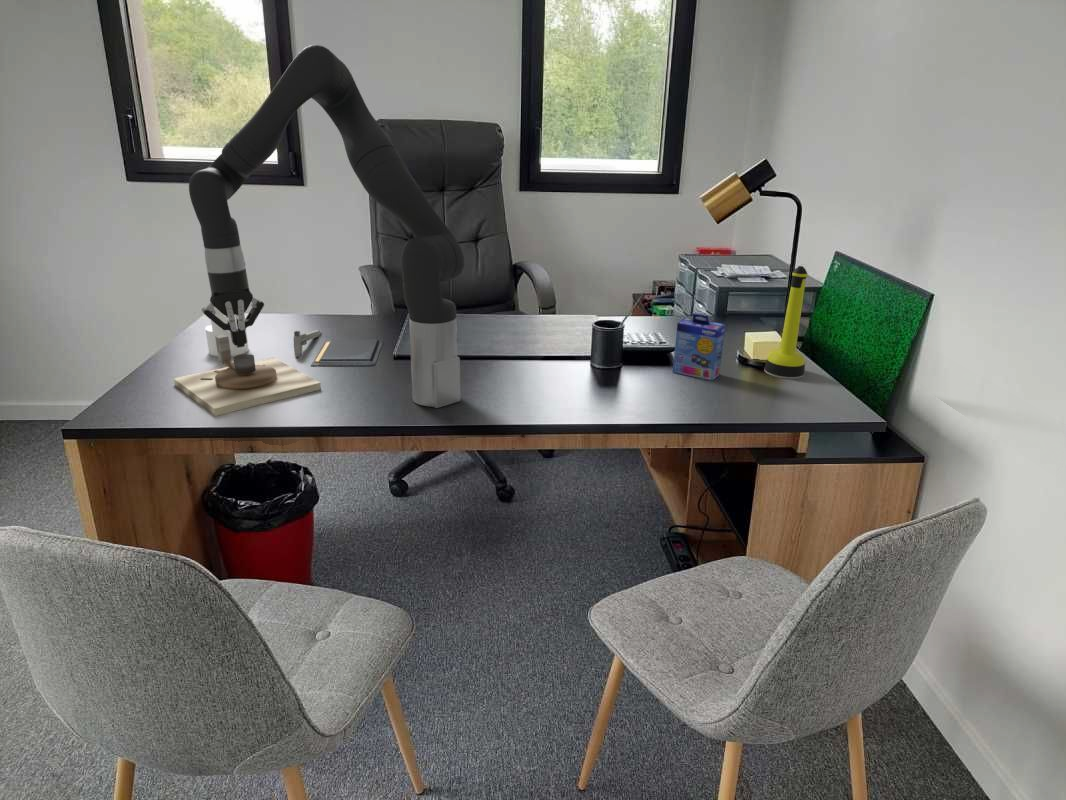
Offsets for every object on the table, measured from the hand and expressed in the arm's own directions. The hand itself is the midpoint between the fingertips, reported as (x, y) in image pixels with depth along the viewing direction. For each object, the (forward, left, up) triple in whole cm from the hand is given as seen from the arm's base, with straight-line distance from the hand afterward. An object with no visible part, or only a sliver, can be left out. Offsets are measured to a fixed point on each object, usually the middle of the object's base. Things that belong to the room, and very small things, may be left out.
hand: (240, 346), depth 157 cm
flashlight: (-79, -95, -6) cm, 124 cm away
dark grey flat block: (-2, -25, -7) cm, 26 cm away
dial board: (-9, +3, -6) cm, 11 cm away
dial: (-7, +3, -4) cm, 8 cm away
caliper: (+10, -21, -7) cm, 24 cm away
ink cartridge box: (-66, -78, -7) cm, 102 cm away
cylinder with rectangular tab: (+18, -4, -7) cm, 19 cm away
